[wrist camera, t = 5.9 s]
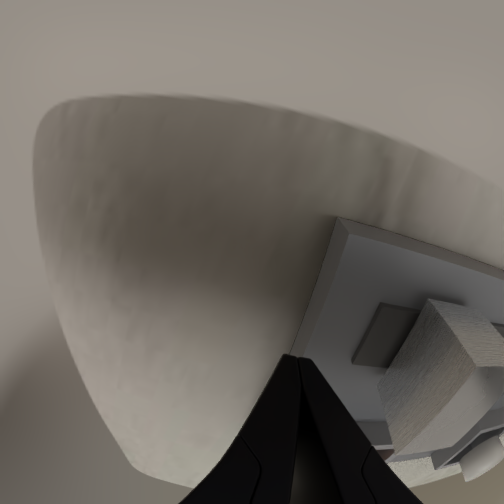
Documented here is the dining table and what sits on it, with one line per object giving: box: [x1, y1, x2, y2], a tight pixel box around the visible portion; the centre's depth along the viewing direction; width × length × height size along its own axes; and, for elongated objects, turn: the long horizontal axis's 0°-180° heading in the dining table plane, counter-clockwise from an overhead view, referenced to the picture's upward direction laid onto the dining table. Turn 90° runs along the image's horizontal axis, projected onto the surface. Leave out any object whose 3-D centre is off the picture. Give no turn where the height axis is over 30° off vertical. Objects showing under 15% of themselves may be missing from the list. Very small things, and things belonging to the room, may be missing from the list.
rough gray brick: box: [377, 298, 504, 456], centre depth 7 cm, size 3×4×4 cm
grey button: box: [459, 436, 504, 482], centre depth 10 cm, size 4×4×2 cm
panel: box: [289, 217, 504, 470], centre depth 11 cm, size 22×15×4 cm
